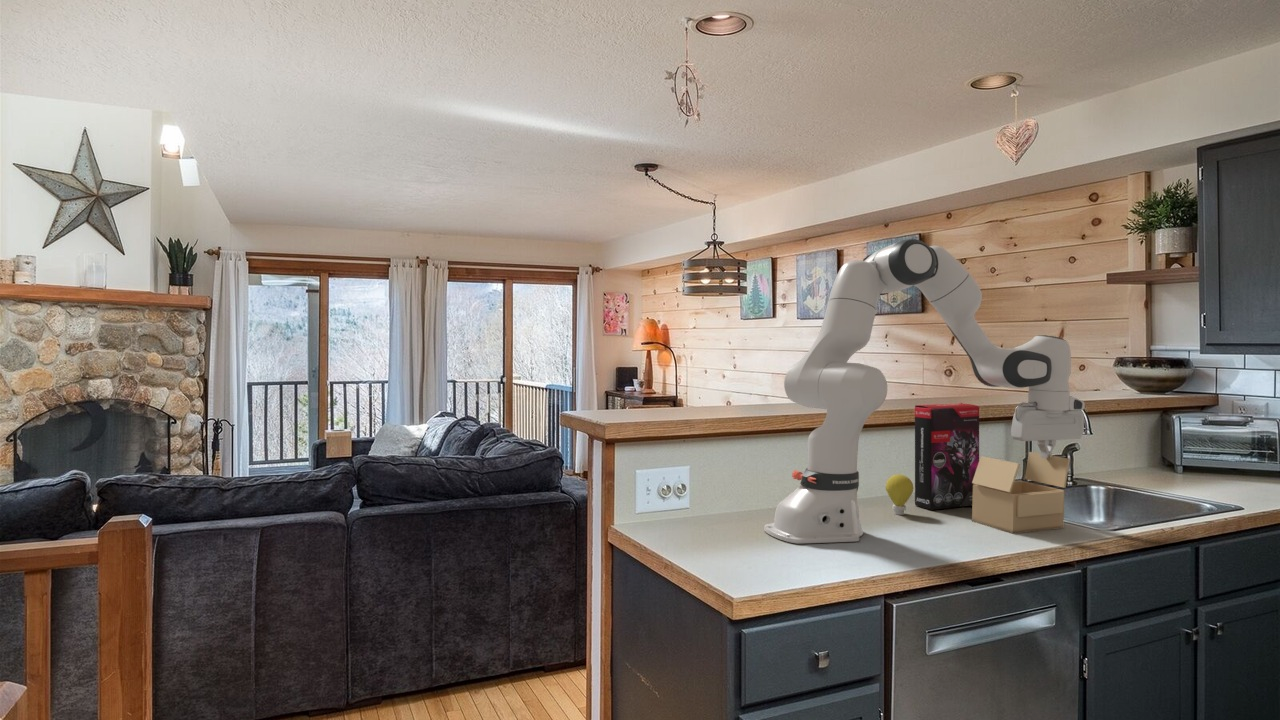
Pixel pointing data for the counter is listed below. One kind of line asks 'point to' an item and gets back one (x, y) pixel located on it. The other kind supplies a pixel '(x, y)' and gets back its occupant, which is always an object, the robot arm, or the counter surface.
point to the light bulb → (899, 492)
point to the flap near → (996, 473)
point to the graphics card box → (945, 454)
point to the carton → (1019, 507)
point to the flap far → (1047, 469)
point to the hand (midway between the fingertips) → (1046, 458)
